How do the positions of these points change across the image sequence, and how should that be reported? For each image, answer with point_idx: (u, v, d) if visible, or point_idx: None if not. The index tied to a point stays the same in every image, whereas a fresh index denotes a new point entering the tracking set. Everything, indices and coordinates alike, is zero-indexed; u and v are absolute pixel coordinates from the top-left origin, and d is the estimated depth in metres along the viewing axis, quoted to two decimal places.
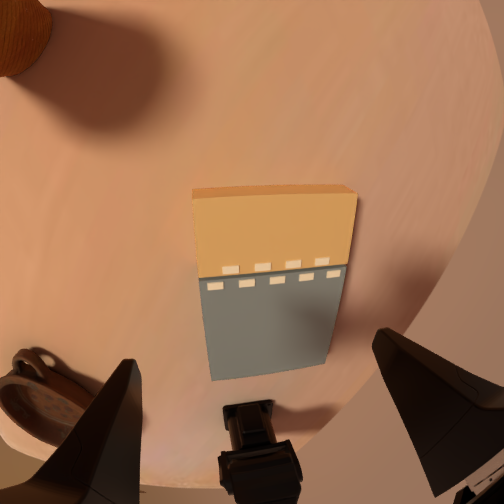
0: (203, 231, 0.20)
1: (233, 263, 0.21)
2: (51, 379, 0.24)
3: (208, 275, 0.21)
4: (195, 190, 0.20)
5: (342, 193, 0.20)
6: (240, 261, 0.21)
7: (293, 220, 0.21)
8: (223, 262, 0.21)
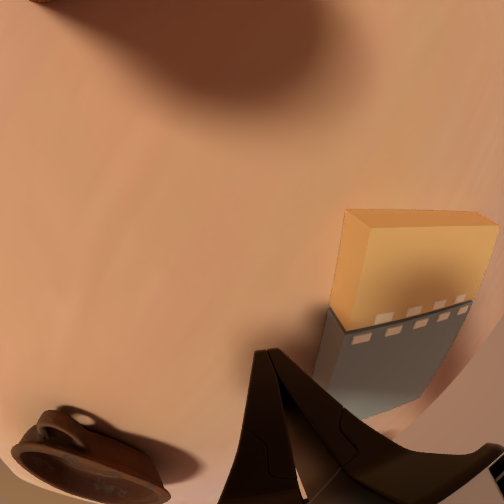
0: (371, 273, 0.13)
1: (389, 310, 0.15)
2: (94, 446, 0.17)
3: (358, 326, 0.15)
4: (352, 211, 0.14)
5: (491, 225, 0.14)
6: (396, 306, 0.15)
7: (454, 256, 0.14)
8: (379, 309, 0.15)
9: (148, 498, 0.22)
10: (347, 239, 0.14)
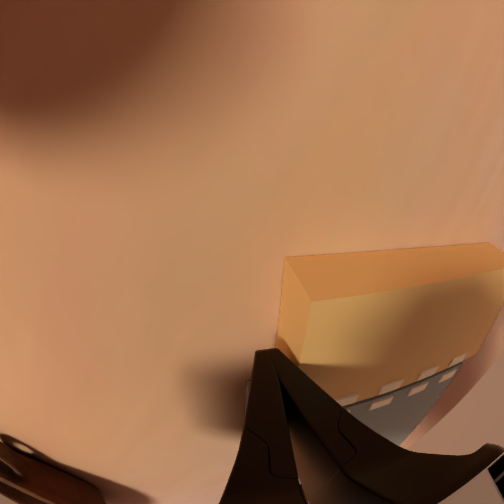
0: (318, 358, 0.09)
1: (351, 392, 0.10)
2: (31, 475, 0.12)
3: None
4: (295, 262, 0.09)
5: None
6: (362, 387, 0.10)
7: (454, 316, 0.10)
8: (336, 394, 0.10)
9: None
10: (286, 302, 0.10)
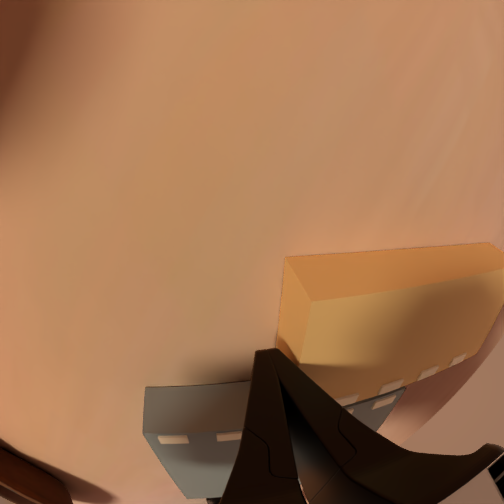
0: (318, 358, 0.09)
1: (351, 392, 0.10)
2: None
3: None
4: (295, 261, 0.09)
5: None
6: (362, 387, 0.10)
7: (454, 316, 0.10)
8: (336, 393, 0.10)
9: None
10: (286, 302, 0.10)
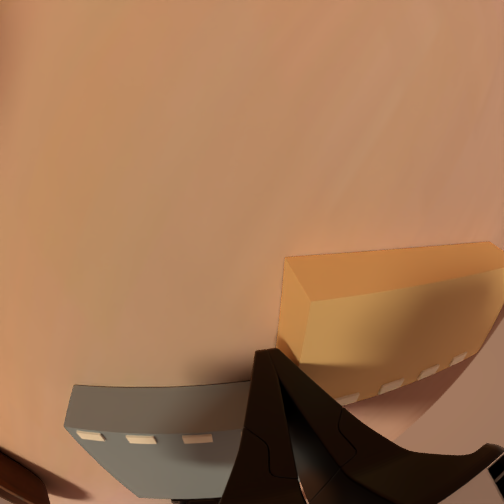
0: (318, 358, 0.09)
1: (352, 392, 0.10)
2: None
3: None
4: (294, 261, 0.09)
5: None
6: (363, 386, 0.10)
7: (455, 316, 0.10)
8: (336, 393, 0.10)
9: None
10: (286, 302, 0.10)
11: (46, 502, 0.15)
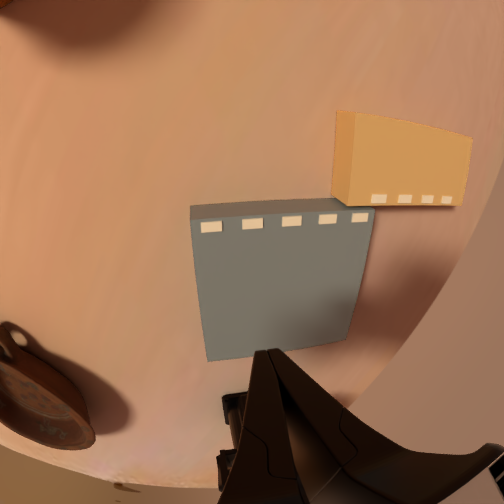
0: (361, 151, 0.16)
1: (382, 191, 0.18)
2: (21, 360, 0.19)
3: (357, 203, 0.18)
4: (342, 111, 0.17)
5: (463, 135, 0.17)
6: (388, 189, 0.18)
7: (432, 153, 0.17)
8: (373, 189, 0.17)
9: (81, 438, 0.24)
10: (340, 131, 0.17)
11: (89, 422, 0.23)
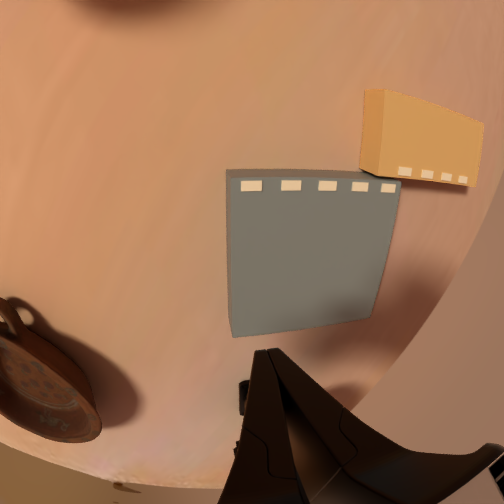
0: (390, 124, 0.16)
1: (408, 165, 0.18)
2: (26, 338, 0.18)
3: (386, 174, 0.18)
4: (370, 90, 0.17)
5: None
6: (412, 163, 0.18)
7: (450, 134, 0.17)
8: (400, 161, 0.17)
9: (85, 429, 0.23)
10: (368, 107, 0.17)
11: (95, 410, 0.22)
